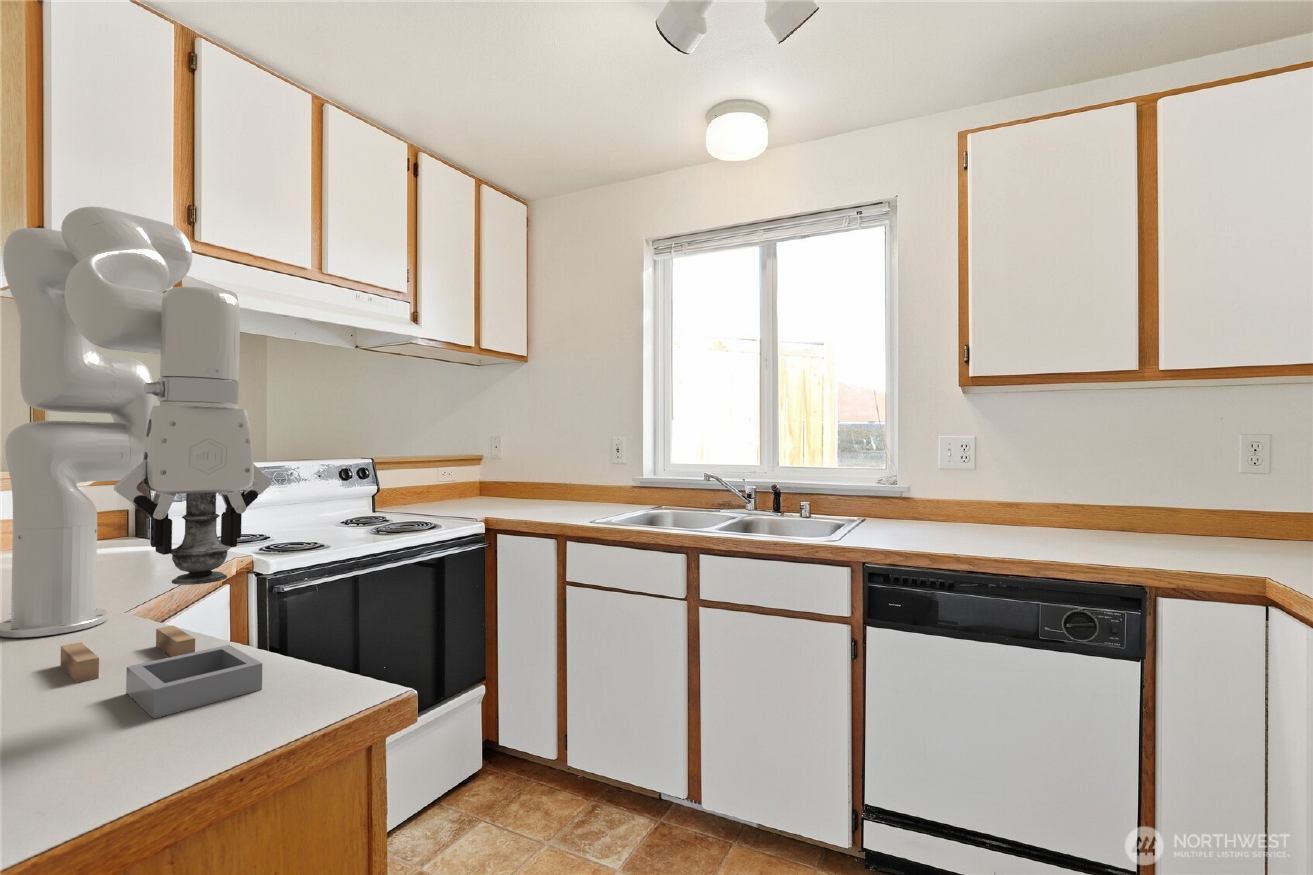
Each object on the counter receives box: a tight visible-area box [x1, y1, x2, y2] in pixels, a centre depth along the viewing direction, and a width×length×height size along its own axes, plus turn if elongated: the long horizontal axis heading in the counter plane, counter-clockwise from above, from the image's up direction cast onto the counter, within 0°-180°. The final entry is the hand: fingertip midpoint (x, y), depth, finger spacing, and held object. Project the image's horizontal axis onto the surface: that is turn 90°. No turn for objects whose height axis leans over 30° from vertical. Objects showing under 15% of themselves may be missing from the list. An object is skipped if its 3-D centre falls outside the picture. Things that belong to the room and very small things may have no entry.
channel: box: [60, 625, 196, 683], centre depth 85 cm, size 9×12×2 cm
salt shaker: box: [169, 492, 232, 586], centre depth 75 cm, size 6×6×12 cm
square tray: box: [125, 644, 263, 719], centre depth 75 cm, size 10×10×3 cm
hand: (197, 547), depth 75 cm, fingers closed on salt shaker, 5 cm apart
